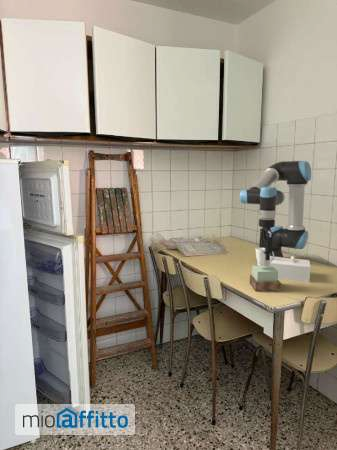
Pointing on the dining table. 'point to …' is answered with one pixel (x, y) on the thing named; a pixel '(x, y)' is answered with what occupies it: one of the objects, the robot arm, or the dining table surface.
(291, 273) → the elongated white prism
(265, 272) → the sage block
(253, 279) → the walnut block
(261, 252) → the cup
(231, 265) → the dining table surface
